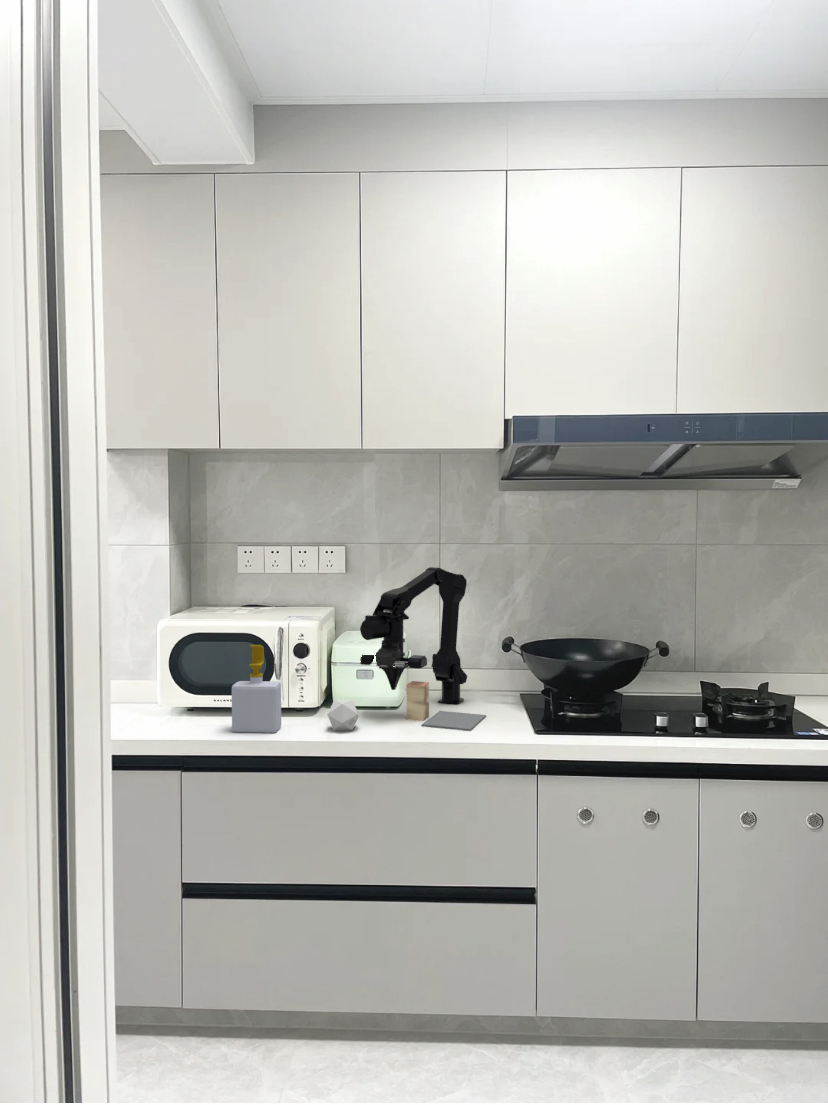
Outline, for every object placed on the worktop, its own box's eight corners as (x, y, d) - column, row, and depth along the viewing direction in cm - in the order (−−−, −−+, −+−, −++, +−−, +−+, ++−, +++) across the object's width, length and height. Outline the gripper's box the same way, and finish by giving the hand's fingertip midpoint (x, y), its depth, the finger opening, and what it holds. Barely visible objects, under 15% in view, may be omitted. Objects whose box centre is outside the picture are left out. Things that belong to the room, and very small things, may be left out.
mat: (439, 712, 242) (439, 710, 242) (486, 716, 238) (486, 714, 237) (421, 726, 227) (421, 724, 227) (470, 730, 223) (470, 729, 222)
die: (346, 737, 218) (365, 706, 221) (318, 720, 220) (338, 689, 222) (348, 740, 226) (366, 710, 229) (321, 723, 227) (340, 693, 230)
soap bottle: (231, 732, 221) (230, 645, 219) (238, 726, 227) (237, 641, 226) (276, 733, 220) (275, 646, 219) (281, 726, 227) (281, 642, 225)
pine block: (412, 715, 239) (412, 680, 239) (428, 716, 238) (428, 682, 237) (406, 719, 235) (406, 684, 234) (423, 720, 233) (423, 685, 232)
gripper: (352, 638, 233) (352, 693, 234) (414, 642, 227) (414, 698, 228) (367, 632, 243) (368, 685, 244) (427, 636, 237) (427, 689, 238)
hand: (393, 689), depth 238 cm, fingers closed
